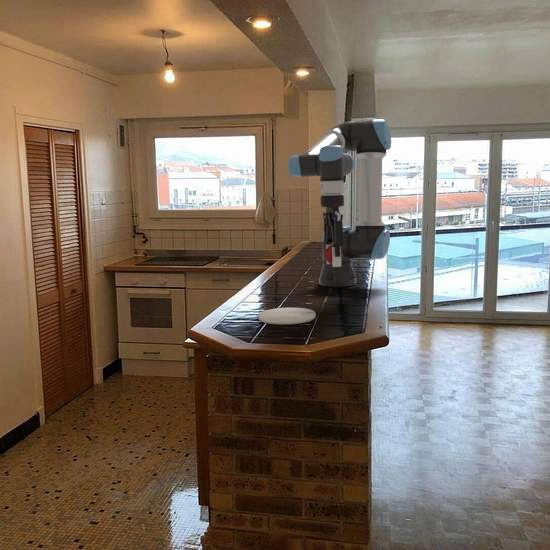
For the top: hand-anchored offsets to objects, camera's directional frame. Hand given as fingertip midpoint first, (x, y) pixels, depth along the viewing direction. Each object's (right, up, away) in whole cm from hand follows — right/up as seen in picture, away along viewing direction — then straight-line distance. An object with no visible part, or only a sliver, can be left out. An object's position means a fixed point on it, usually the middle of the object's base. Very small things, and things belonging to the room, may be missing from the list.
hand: (333, 265), depth 196 cm
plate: (-16, -17, -8) cm, 24 cm away
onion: (0, -1, 0) cm, 1 cm away
